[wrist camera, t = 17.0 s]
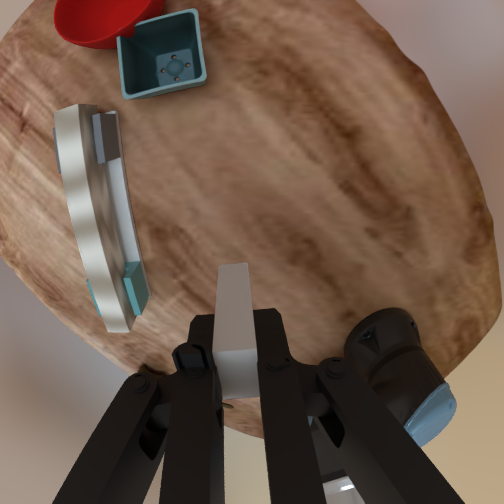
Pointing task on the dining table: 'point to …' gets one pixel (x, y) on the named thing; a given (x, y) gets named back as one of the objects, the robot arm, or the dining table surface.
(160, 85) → the flower pot
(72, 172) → the grey white bar
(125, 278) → the long grey teal holder
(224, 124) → the dining table surface
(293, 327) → the dining table surface
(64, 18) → the ceramic cup
